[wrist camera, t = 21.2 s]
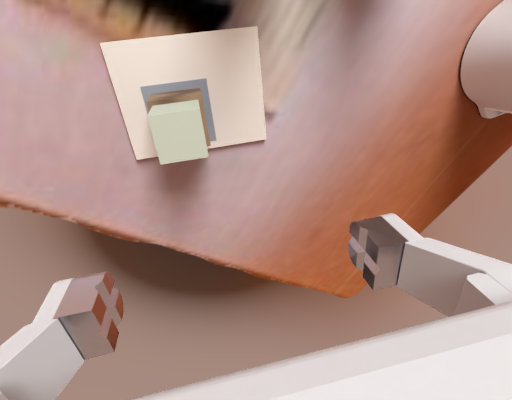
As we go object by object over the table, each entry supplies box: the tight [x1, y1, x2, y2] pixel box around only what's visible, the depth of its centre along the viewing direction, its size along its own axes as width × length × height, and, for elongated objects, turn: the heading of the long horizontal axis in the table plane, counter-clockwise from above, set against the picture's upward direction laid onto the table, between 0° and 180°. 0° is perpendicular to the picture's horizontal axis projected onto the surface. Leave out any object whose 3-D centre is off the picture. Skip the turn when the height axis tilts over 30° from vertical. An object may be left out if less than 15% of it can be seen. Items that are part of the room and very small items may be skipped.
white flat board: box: [100, 26, 266, 160], centre depth 38 cm, size 18×14×1 cm
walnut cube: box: [146, 88, 211, 146], centre depth 36 cm, size 6×6×5 cm
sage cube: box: [147, 100, 209, 165], centre depth 32 cm, size 5×5×5 cm
